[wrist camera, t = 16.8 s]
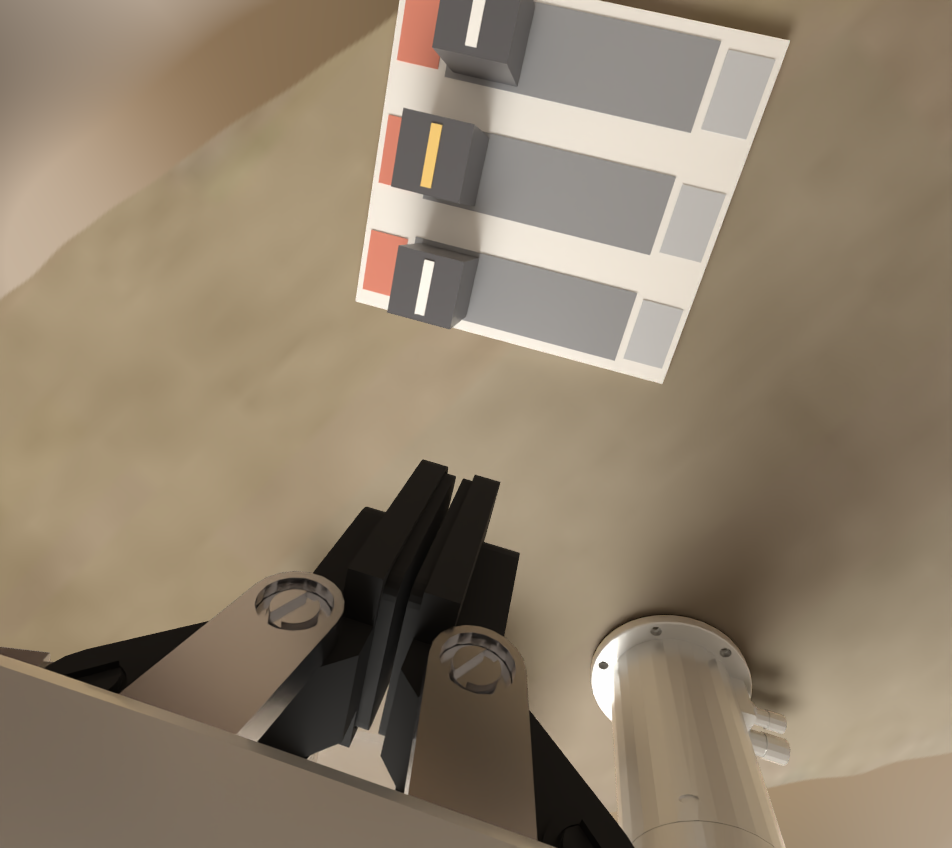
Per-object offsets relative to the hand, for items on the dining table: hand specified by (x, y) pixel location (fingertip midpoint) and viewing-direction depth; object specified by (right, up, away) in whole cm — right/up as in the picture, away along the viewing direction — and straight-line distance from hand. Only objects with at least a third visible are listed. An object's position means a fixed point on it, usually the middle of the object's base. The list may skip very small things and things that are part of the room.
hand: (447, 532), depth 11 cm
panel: (+5, +17, +24) cm, 30 cm away
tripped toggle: (-1, +19, +23) cm, 30 cm away
